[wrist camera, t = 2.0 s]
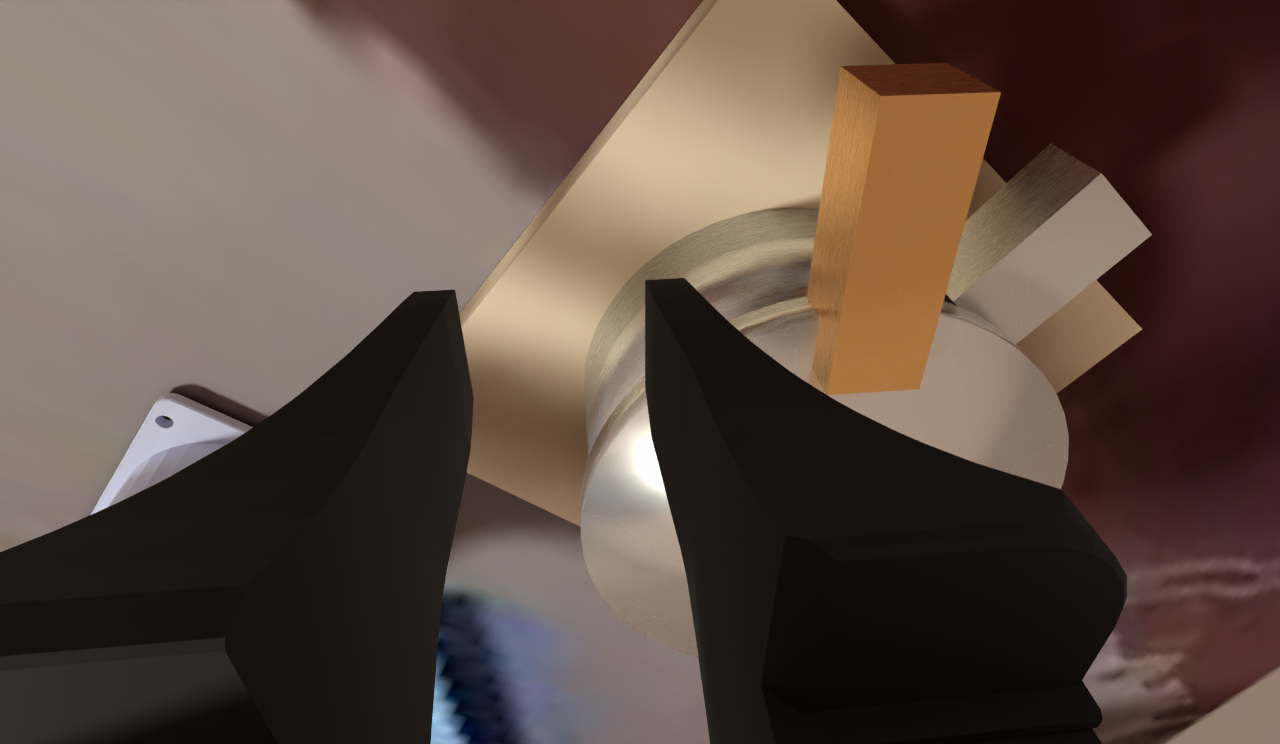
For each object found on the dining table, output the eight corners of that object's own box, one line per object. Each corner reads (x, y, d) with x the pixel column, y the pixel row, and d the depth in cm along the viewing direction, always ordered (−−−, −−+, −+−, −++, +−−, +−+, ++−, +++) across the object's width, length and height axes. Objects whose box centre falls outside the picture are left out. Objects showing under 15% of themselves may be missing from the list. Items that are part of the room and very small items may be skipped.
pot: (764, 549, 29) (798, 663, 25) (510, 413, 24) (501, 529, 20) (1126, 258, 23) (1251, 347, 19) (887, -14, 17) (989, 27, 13)
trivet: (756, 591, 32) (763, 614, 31) (387, 408, 25) (380, 431, 24) (1119, 310, 25) (1142, 329, 24) (760, -74, 17) (772, -69, 16)
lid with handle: (974, 617, 24) (1014, 688, 22) (590, 652, 23) (594, 730, 21) (1216, 54, 14) (1331, 90, 12) (546, 74, 13) (545, 116, 11)
